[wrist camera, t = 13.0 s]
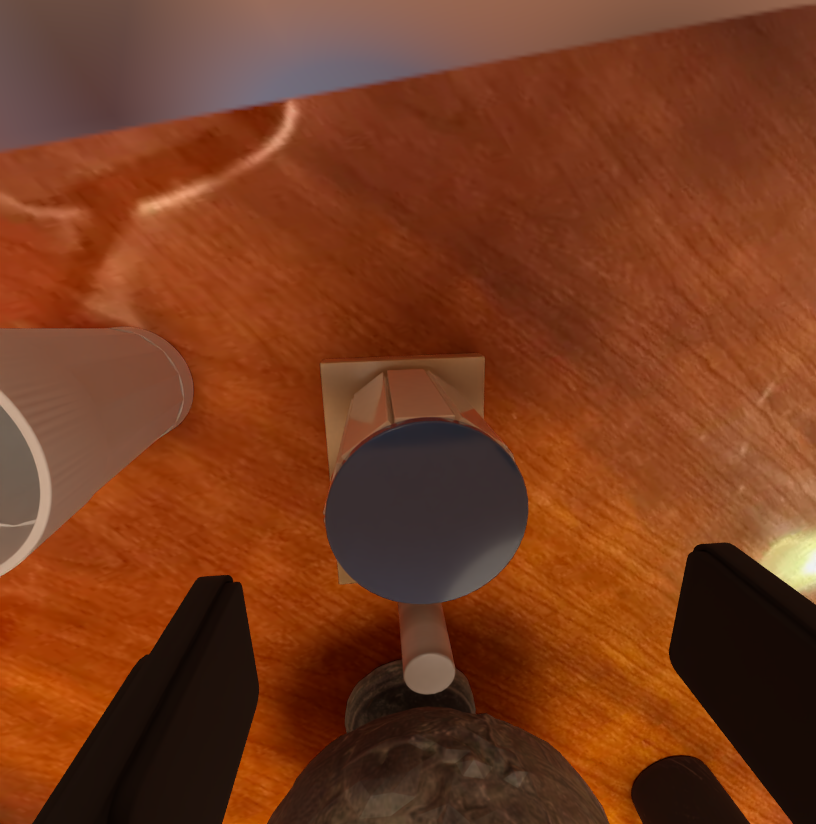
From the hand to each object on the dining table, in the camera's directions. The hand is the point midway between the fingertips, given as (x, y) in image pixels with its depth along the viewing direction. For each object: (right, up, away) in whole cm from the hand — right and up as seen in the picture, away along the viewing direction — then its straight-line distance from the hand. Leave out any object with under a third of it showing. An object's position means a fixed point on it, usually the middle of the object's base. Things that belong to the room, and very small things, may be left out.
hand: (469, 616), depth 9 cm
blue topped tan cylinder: (-1, +3, +13) cm, 14 cm away
